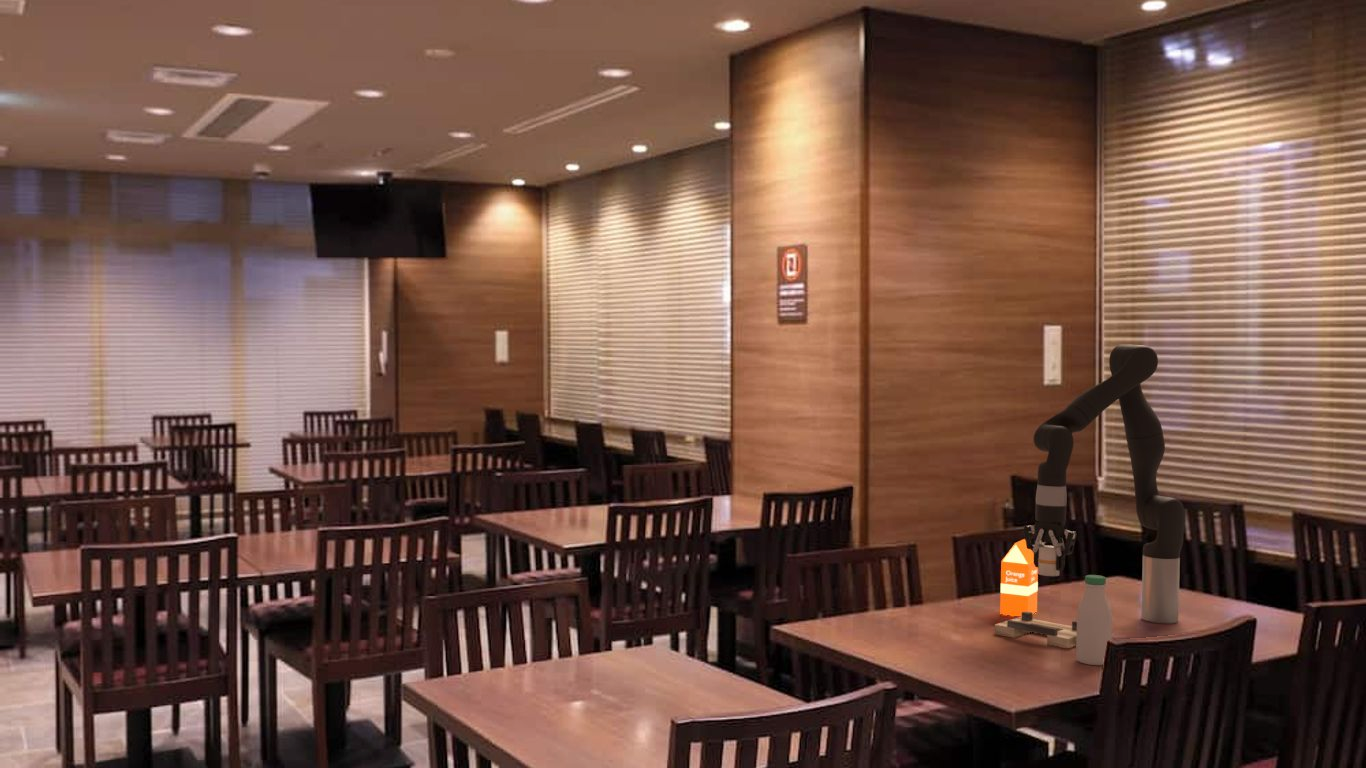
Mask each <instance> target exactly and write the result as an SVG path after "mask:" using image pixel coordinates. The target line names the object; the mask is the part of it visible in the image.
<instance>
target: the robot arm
mask: <svg viewBox="0 0 1366 768" xmlns="http://www.w3.org/2000/svg"><path fill="white" fill-rule="evenodd" d="M1158 358H1159V357H1158V355H1157V352H1156V351H1155V350H1154V349H1153V348H1151V347H1150V346H1147V345H1143V344H1142V345H1141V344H1140V345H1139V344H1126V343H1124V344H1123V343H1122V344H1117V345H1116V346H1115V347H1114V348H1113V349H1112V351H1111V352H1110V354H1109V359H1108V360H1109V361H1108V362H1109V363H1108V364H1109V370H1110V371H1109V372H1110V374H1111V376H1110V377H1108V378H1106V379H1105V380H1103V381H1102V382H1101V381H1100V382H1099V383H1098V384H1096V385H1094V386H1092V387H1090V388H1089V389H1087V390H1085V391H1083V392H1082V393H1080V395H1078V396H1076V398H1075V399H1074V400H1072V402H1070V403H1069V404H1068V405H1067V406H1066V407H1065V408H1064V409H1063V410H1061V411H1060V412H1058V413H1057V414H1055V415H1053V416H1051V417H1050V418H1048V419H1047V420H1045V421H1044V422H1043V423H1041V424H1040V425H1039V426H1038V427H1037V429H1036V430H1035V431H1034V435H1033V443H1034V445H1035V447H1036V448H1037V449H1038V450H1040V451H1041V452H1044V453H1045V452H1046V453H1048V454H1047V457H1046V461H1043V462H1041V463H1040V464H1038V467H1037V486H1036V487H1037V488H1036V490H1035V491H1036V492H1035V493H1036V494H1035V516H1034V517H1035V523H1034V525H1030V524H1029V525H1025V526H1024V527H1023V531H1024V539H1025V541H1026V546H1027V549H1030V550H1032V552H1033V553H1034V561H1033V563H1034V565H1035V567H1038V558H1039V546H1045V544H1047V543H1049V544H1052V546H1054V548H1055V549H1056V552H1057V555H1058V556H1057V560H1056V570H1057V571H1059V572H1061V571H1063V570H1064V569H1065V567H1066V556H1067V555H1072V554H1073V552H1074V548H1075V544H1076V540H1077V536H1078V534H1077V531H1076V530H1075V531H1074V530H1073V531H1071V530H1068V528H1067V527H1066V521H1067V520H1066V519H1067V499H1068V498H1067V495H1068V492H1067V469H1068V467H1069V465H1070V460H1071V456H1072V454H1073V450H1074V437H1073V433H1077V432H1082V431H1083V430H1085V429H1086V428H1087V427H1088V426H1089V425H1090V424H1091V423H1092V422H1094V420H1096V418H1098V416H1100V415H1101V414H1102V413H1103V412H1104V411H1105V410H1106V409H1108V407H1110V406H1111V405H1113V404H1114V403H1115V402H1116V401H1119V402H1118V403H1119V407H1120V411H1121V416H1122V420H1123V425H1124V433H1125V438H1126V444H1127V449H1128V453H1129V457H1130V463H1131V470H1132V477H1133V485H1134V498H1135V510H1136V515H1137V519H1138V521H1139V523H1140V524H1141V526H1142V527H1144V528H1146V529H1150V530H1155V531H1157V533H1156V534H1157V535H1156V539H1155V540H1153V541H1151V542H1147V543H1145V544H1143V547H1142V568H1141V569H1142V572H1141V573H1142V575H1141V579H1142V580H1141V616H1140V617H1141V618H1140V619H1142V620H1144V621H1146V622H1150V623H1157V624H1175V623H1178V622H1179V607H1180V606H1179V603H1180V602H1179V601H1180V597H1179V596H1180V561H1181V558H1180V557H1181V556H1180V555H1181V550H1182V548H1183V545H1184V536H1185V535H1184V533H1185V521H1186V512H1185V511H1186V510H1185V507H1184V504H1183V503H1182V502H1181V500H1180V499H1177V498H1174V497H1170V496H1162V495H1160V493H1159V490H1158V484H1157V473H1158V470H1159V468H1160V464H1161V463H1162V461H1163V458H1164V455H1165V450H1166V443H1165V437H1164V432H1163V427H1162V423H1161V421H1160V419H1159V417H1158V416H1157V414H1156V413H1155V411H1154V409H1153V408H1152V406H1151V405H1150V404H1149V402H1148V400H1147V398H1146V397H1145V395H1144V393H1143V390H1142V385H1141V384H1142V383H1144V382H1145V381H1147V380H1148V379H1150V377H1152V376H1153V375H1154V374H1155V373H1156V370H1157V367H1158V365H1159V359H1158ZM1035 532H1036V535H1037V537H1036V539H1035V535H1034V534H1035ZM1063 537H1065V539H1066V540H1065V541H1064V538H1063Z"/></svg>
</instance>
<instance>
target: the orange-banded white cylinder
mask: <svg viewBox="0 0 1366 768" xmlns="http://www.w3.org/2000/svg"><path fill="white" fill-rule="evenodd" d="M1057 556H1058V555H1057V552H1056V549H1055V548H1054V546H1053V545H1044V546H1039V558H1038V575H1040V576H1045V577H1058V576H1060V571H1057V570H1056V560H1057Z"/></svg>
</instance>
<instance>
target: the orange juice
mask: <svg viewBox="0 0 1366 768" xmlns="http://www.w3.org/2000/svg"><path fill="white" fill-rule="evenodd" d="M1033 561H1034V552H1033V551H1032V550H1030V549H1027V546H1026V539H1025V538H1024V539H1021V540H1019V541H1017V542H1014V544H1013V545H1012V547H1011V548H1010V549H1009V551H1008V552H1007V553H1006V555H1005V556H1004V557H1003V558H1002V560H1001V562H1000V563H1001V564H1000V565H1001V566H1000V568H1001V569H1000V608H999V609H1000V611H999V612H1000V613H999V614H1003V615H1002V616H1007V615H1010V616H1009V617H1014V616H1021V617H1022V612H1024V611H1028V612H1033V614H1034V613H1035V612H1037V613H1038V589H1039V588H1038V587H1039V582H1038V581H1039V580H1038V579H1039V578H1038V577H1039V576H1038V575H1039V574H1038V567H1035V565H1034V563H1033ZM1035 614H1036V613H1035ZM1035 614H1034V615H1035Z"/></svg>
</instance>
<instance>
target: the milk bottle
mask: <svg viewBox="0 0 1366 768" xmlns="http://www.w3.org/2000/svg"><path fill="white" fill-rule="evenodd" d="M1106 582H1107V578H1106V577H1105V576H1103V575H1100V574H1099V575H1097V574H1088V575H1087V574H1086V575H1085V577H1084V586H1085V591H1084V593H1083V596H1082V598H1081V600H1080V602H1079V605H1078V606H1077V614H1076V616H1077V618H1076V620H1077V638H1076V646H1075V647H1076V648H1075V651H1076V653H1075V655H1076V657H1075V658H1076V661H1077V662H1079V663H1080V664H1084V665H1090V666H1103V665H1102V663H1103V658H1104V653H1105V648H1106V643H1107V641H1108V640H1112V638H1113V636H1112V635H1113V631H1112V630H1113V622H1112V621H1113V617H1112V616H1113V615H1112V608H1111V605H1110V603H1109V600H1108V597H1107V594H1106V590H1105V587H1106Z"/></svg>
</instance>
